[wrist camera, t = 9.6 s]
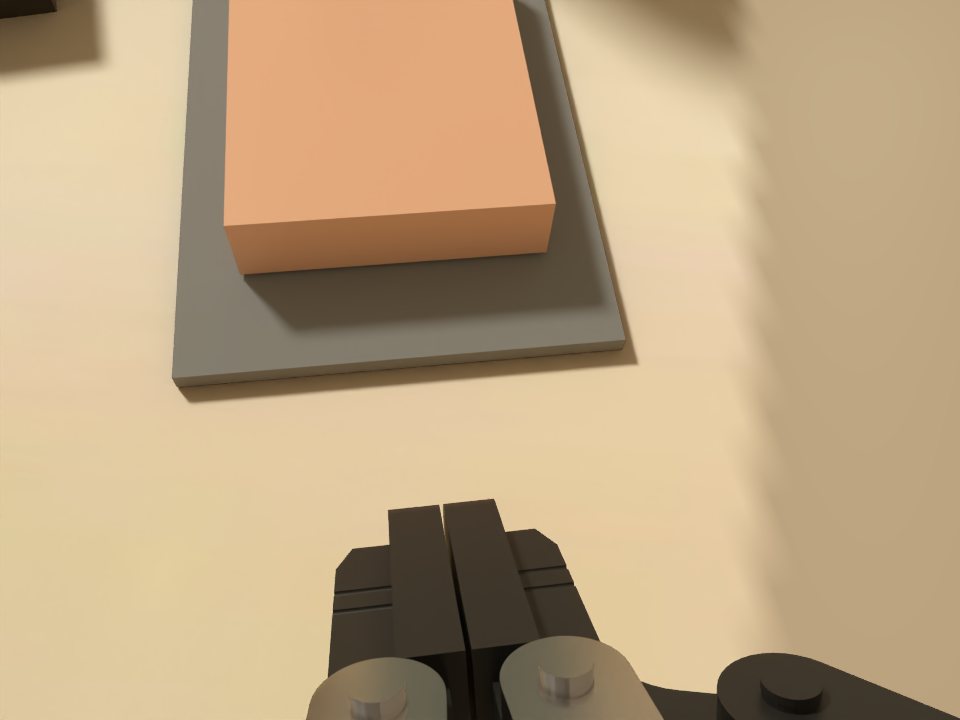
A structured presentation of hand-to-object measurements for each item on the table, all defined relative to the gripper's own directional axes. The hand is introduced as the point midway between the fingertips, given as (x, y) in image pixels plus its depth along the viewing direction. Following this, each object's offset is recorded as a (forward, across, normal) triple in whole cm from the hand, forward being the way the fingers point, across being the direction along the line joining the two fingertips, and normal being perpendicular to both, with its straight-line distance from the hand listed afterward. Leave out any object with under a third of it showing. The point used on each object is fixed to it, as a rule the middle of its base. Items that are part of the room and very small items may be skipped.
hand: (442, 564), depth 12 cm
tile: (+16, 0, -2) cm, 16 cm away
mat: (+22, 0, -5) cm, 23 cm away
